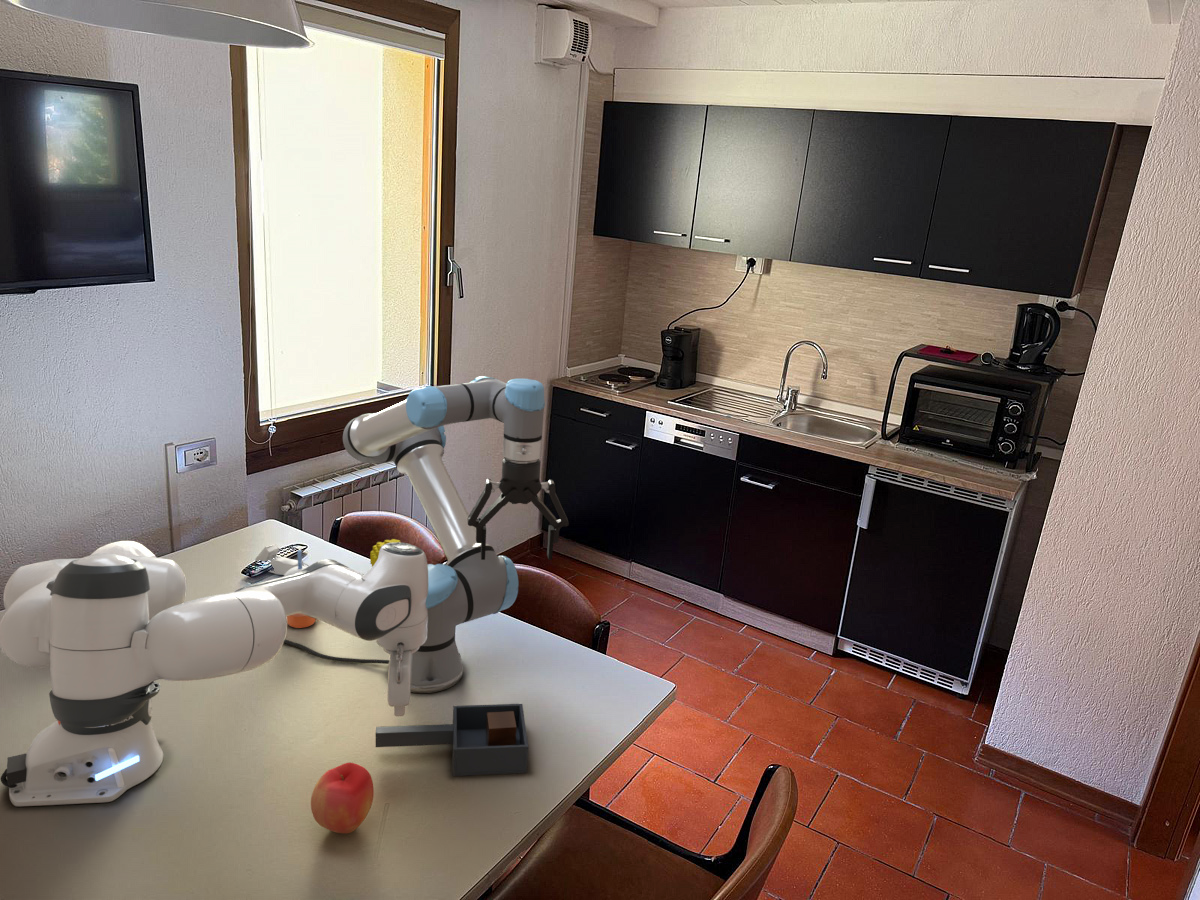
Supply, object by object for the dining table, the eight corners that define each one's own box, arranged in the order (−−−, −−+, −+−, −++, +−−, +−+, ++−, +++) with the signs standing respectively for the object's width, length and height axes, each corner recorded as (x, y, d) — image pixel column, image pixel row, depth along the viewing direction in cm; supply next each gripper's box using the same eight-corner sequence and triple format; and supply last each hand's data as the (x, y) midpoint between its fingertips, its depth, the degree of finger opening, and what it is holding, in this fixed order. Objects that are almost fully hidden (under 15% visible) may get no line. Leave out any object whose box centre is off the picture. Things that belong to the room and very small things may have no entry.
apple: (348, 797, 145) (348, 747, 142) (386, 823, 140) (386, 772, 137) (300, 828, 137) (298, 775, 134) (338, 857, 132) (337, 803, 129)
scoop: (372, 779, 150) (372, 752, 148) (378, 733, 162) (378, 707, 160) (526, 772, 155) (528, 746, 153) (520, 728, 167) (522, 703, 165)
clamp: (253, 565, 223) (254, 542, 221) (265, 560, 226) (266, 537, 224) (309, 593, 215) (310, 569, 213) (320, 588, 218) (321, 564, 216)
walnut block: (487, 756, 157) (489, 728, 155) (485, 739, 162) (487, 712, 160) (514, 754, 158) (516, 727, 156) (512, 738, 163) (513, 711, 161)
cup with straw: (309, 634, 194) (307, 561, 188) (272, 627, 195) (269, 555, 190) (329, 615, 202) (328, 546, 197) (294, 609, 204) (292, 540, 198)
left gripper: (418, 661, 140) (417, 733, 144) (421, 602, 159) (420, 667, 163) (379, 662, 139) (378, 734, 143) (386, 602, 158) (386, 667, 162)
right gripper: (457, 463, 162) (454, 564, 168) (587, 465, 167) (579, 564, 173) (457, 450, 169) (454, 549, 175) (581, 453, 174) (574, 549, 180)
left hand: (400, 698), depth 153 cm, fingers open, 8 cm apart
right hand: (516, 557), depth 174 cm, fingers open, 13 cm apart
